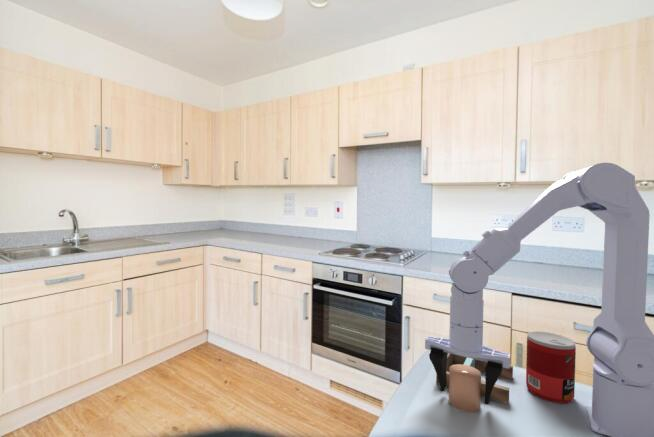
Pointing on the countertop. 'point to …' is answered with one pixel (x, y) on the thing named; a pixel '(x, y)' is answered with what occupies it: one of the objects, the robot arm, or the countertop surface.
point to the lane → (497, 392)
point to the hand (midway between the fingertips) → (464, 395)
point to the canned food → (551, 366)
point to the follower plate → (469, 362)
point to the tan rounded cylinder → (465, 387)
